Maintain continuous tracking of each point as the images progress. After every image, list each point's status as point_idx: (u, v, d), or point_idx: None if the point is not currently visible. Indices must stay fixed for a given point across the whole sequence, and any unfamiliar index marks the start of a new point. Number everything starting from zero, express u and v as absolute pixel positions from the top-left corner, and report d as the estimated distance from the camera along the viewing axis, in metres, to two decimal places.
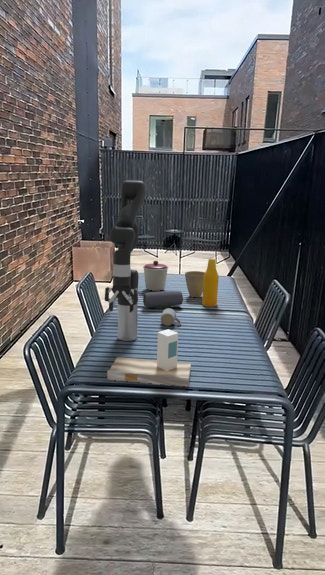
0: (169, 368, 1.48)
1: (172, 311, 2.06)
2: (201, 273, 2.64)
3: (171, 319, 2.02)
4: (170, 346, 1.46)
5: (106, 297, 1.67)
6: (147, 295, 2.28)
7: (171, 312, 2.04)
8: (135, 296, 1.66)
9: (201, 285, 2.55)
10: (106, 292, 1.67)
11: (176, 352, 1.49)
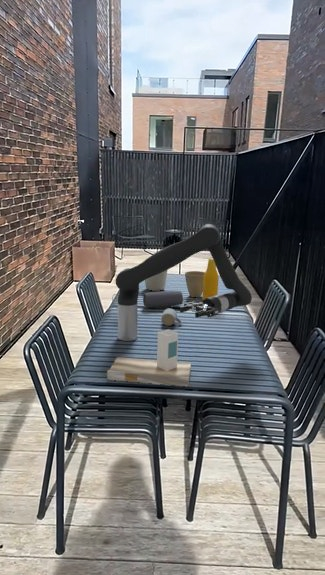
0: (169, 368, 1.48)
1: (173, 311, 2.06)
2: (201, 273, 2.64)
3: (172, 319, 2.02)
4: (170, 346, 1.46)
5: None
6: (147, 295, 2.28)
7: (172, 312, 2.04)
8: None
9: (201, 285, 2.55)
10: None
11: (176, 352, 1.49)
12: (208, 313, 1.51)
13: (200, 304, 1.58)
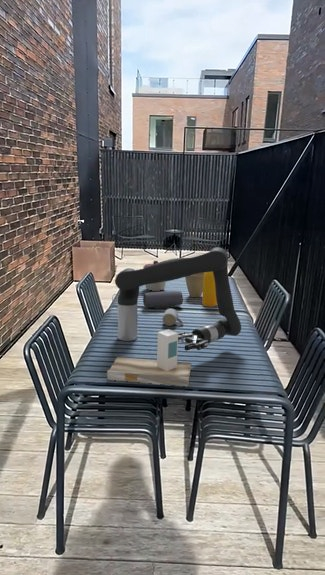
0: (169, 368, 1.48)
1: (174, 311, 2.06)
2: (201, 273, 2.64)
3: (173, 319, 2.01)
4: (170, 346, 1.46)
5: None
6: (147, 295, 2.28)
7: (173, 312, 2.04)
8: None
9: (201, 285, 2.55)
10: None
11: (176, 352, 1.49)
12: (198, 346, 1.51)
13: (190, 335, 1.58)
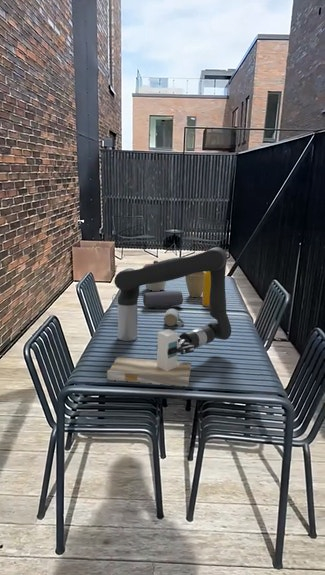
0: (169, 368, 1.48)
1: (175, 311, 2.06)
2: (201, 273, 2.64)
3: (174, 319, 2.01)
4: (170, 346, 1.46)
5: None
6: (147, 295, 2.28)
7: (174, 312, 2.04)
8: None
9: (201, 285, 2.55)
10: None
11: None
12: (181, 350, 1.46)
13: (178, 339, 1.53)
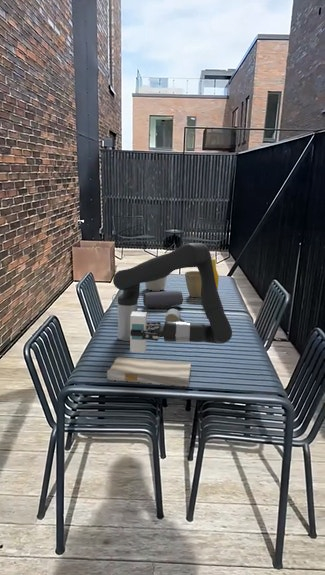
0: (134, 350, 1.44)
1: (176, 311, 2.05)
2: None
3: (175, 319, 2.01)
4: (134, 327, 1.42)
5: None
6: (147, 295, 2.28)
7: (175, 312, 2.04)
8: None
9: None
10: None
11: None
12: (142, 334, 1.39)
13: (156, 326, 1.45)
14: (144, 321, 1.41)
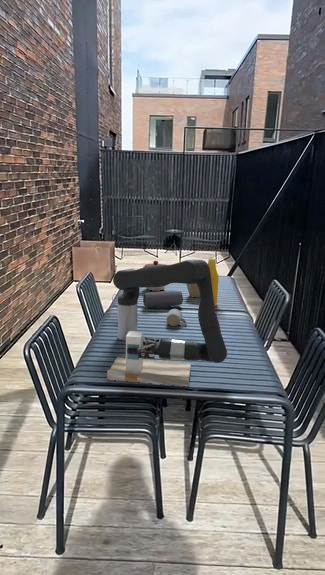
0: (129, 369, 1.46)
1: (178, 312, 2.05)
2: None
3: (177, 320, 2.01)
4: (129, 347, 1.44)
5: None
6: (147, 295, 2.28)
7: (177, 313, 2.03)
8: None
9: None
10: None
11: None
12: (138, 353, 1.39)
13: (151, 343, 1.46)
14: (139, 342, 1.43)
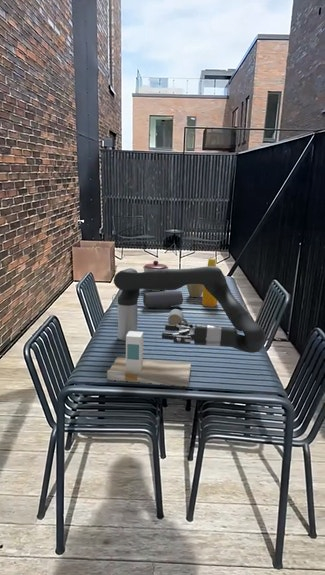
0: (129, 369, 1.46)
1: (179, 312, 2.05)
2: None
3: (178, 320, 2.01)
4: (129, 347, 1.44)
5: None
6: (147, 295, 2.28)
7: (178, 313, 2.03)
8: None
9: (201, 285, 2.55)
10: None
11: (138, 356, 1.44)
12: (173, 338, 1.36)
13: (186, 328, 1.43)
14: (139, 342, 1.43)
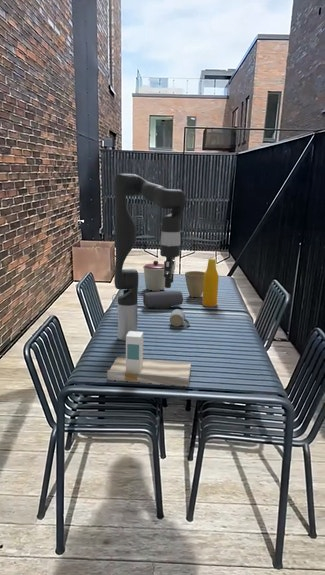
0: (129, 369, 1.46)
1: (181, 312, 2.05)
2: (201, 273, 2.64)
3: (180, 320, 2.01)
4: (129, 347, 1.44)
5: (170, 273, 1.44)
6: (147, 295, 2.28)
7: (180, 313, 2.03)
8: None
9: (201, 285, 2.55)
10: (171, 267, 1.43)
11: (138, 356, 1.44)
12: (166, 277, 1.44)
13: None
14: (139, 342, 1.43)
